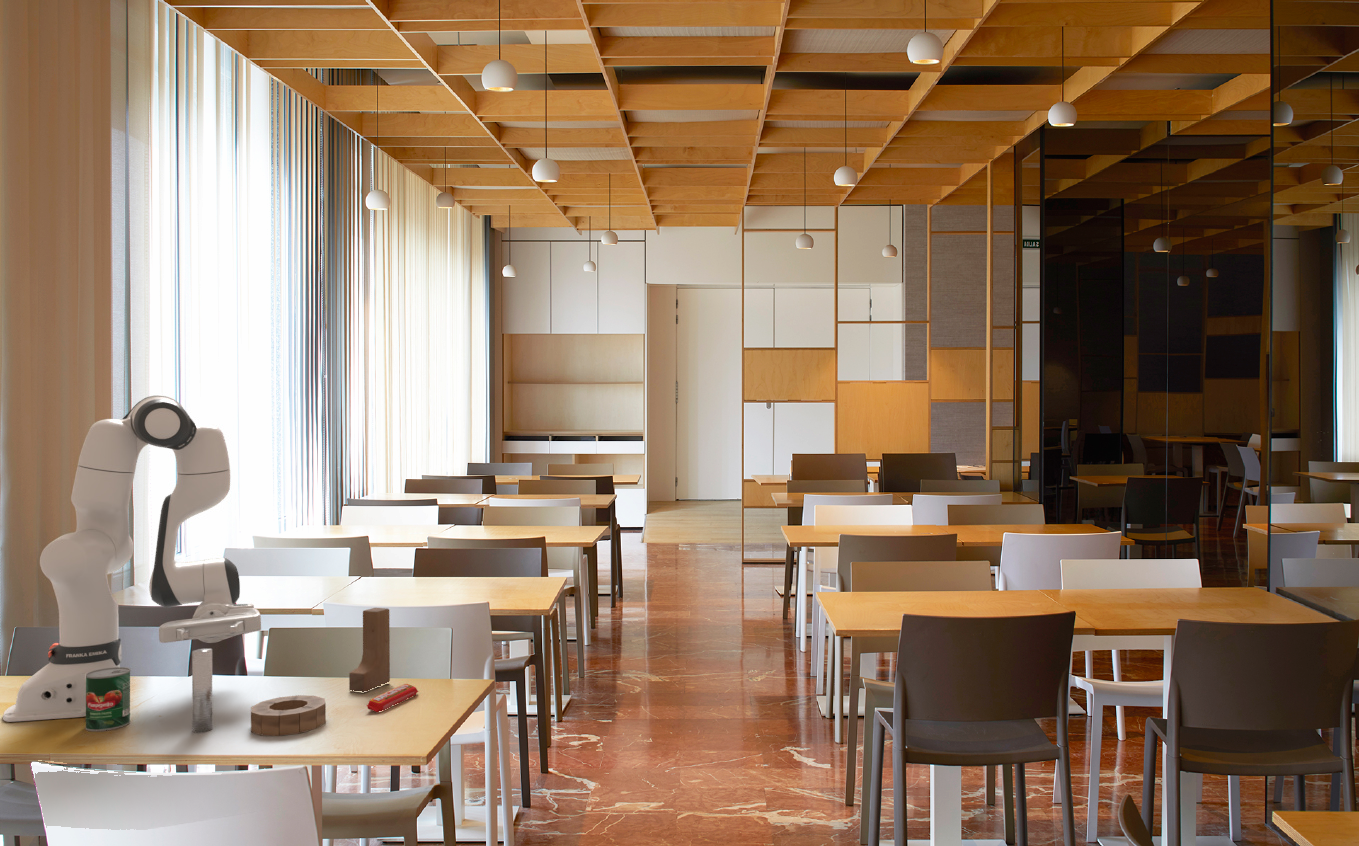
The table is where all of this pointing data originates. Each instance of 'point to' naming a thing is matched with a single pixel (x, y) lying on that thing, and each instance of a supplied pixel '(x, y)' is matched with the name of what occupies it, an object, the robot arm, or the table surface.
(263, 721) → the walnut ring
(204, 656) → the steel peg
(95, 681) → the canned tomato
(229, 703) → the table surface
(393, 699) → the candy bar
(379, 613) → the wooden block
